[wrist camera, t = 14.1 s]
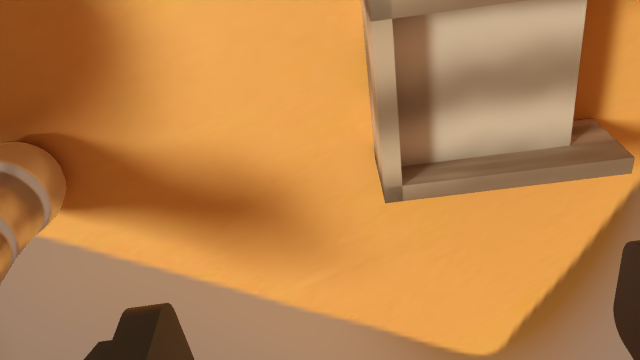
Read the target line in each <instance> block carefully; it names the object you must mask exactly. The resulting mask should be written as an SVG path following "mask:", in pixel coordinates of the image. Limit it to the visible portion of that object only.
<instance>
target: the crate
mask: <svg viewBox="0 0 640 360" xmlns="http://www.w3.org/2000/svg"><path fill="white" fill-rule="evenodd" d="M361 2H362V13H363V25H364V36H365V48H366V59H367V70H368V82H369V93H370V104H371V116H372V127H373V138H374V150H375V160H376V165H377V169H378V173H379V178H380V182H381V186H382V191H383V195H384V199H385V203H391V202H399V201H408V200H416V199H424V198H432V197H441V196H449V195H457V194H465V193H474V192H482V191H490V190H498V189H507V188H515V187H523V186H531V185H540V184H548V183H556V182H564V181H573V180H581V179H589V178H597V177H606V176H614V175H622V174H630V173H632V169H633V163H634V158H635V157H634V156H633V155H632V154H630V153H629V152H628V151H627V150H626V149H625V148H624V147H623V146H622V145H621V144H620V143H619V142H618V141H617V140H616V139H615V138H614V137H612V136H611V135H610V134H609V133H608V132H607V131H606V130H605V129H604V128H603V127H602V126H601V125H600V124H599V123H598V122H597V121H596V120H594V119H593V118H591V119H583V120H575V121H573V116H574V108H575V100H576V91H577V83H578V74H579V66H580V57H581V49H582V40H583V32H584V23H585V15H586V7H587V0H361Z"/></svg>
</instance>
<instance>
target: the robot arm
mask: <svg viewBox="0 0 640 360" xmlns="http://www.w3.org/2000/svg"><path fill="white" fill-rule="evenodd" d="M613 308H614V310H613V311H614V318H615V323H616V327H617V330H618V332H619V335H620V337H621V339H622V341H623V343H624V345H625V346H626V348H627V349H628V351H629V353H630V354H631V356H632V357H633V359H634V360H640V240H638V241H631V242H628V243H626V245H625V247H624V249H623V253H622V259H621V265H620V271H619V276H618V282H617V288H616V294H615V300H614V307H613ZM84 360H194V357H193V355H192V352H191V350H190V347H189V345H188V343H187V340H186V338H185V335H184V333H183V330H182V328H181V325H180V323H179V320H178V318H177V315H176V313H175V311H174V309H173V307H172V305H171V304H169V303H164V304H156V305H148V306H141V307H134V308H128V309H126V310H125V311H124V312H123V314H122V316H121V318H120V321H119V324H118V326H117V329H116V332H115V334H114V337H113V340H110V341H102V342H98V344H97V345H96V346H95V347H94V348H93V349H92V351H91V352H90V353H89V354H88V355H87V357H86V358H85V359H84Z"/></svg>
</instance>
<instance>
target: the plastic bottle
mask: <svg viewBox="0 0 640 360" xmlns="http://www.w3.org/2000/svg"><path fill="white" fill-rule="evenodd" d="M66 187H67V184H66V179H65V176H64V173H63V171H62V169H61V167H60V166H59V164H58V162H57V161H56V160H55V159H54V158H53V157H52V156H51V155H50V154H49V153H48V152H46V151H45V150H43V149H41V148H40V147H37V146H35V145H32V144H28V143H23V142H4V143H1V144H0V285H1V283H2V281H3V280H4V278H5V276H6V274H7V273H8V271H9V269H10V268H11V266H12V264H13V263H14V261H15V259H16V258H17V257H18V255H19V254H20V253H21V252H22V251H23V249H24V248H25V247H26V246H27V245H28V244H29V242H30V241H31V240H32V239H33V238H34V237H35V235H36V234H38V233H39V232H40V231H41V230H43V229H44V228H45V227H46V226H47V225H48V224H49V223H50V222H51V221H52V220H53V219H54V218H55V217H56V216H57V214H58V213H59V211H60V209H61V206H62V204H63V201H64V198H65V194H66Z"/></svg>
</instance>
